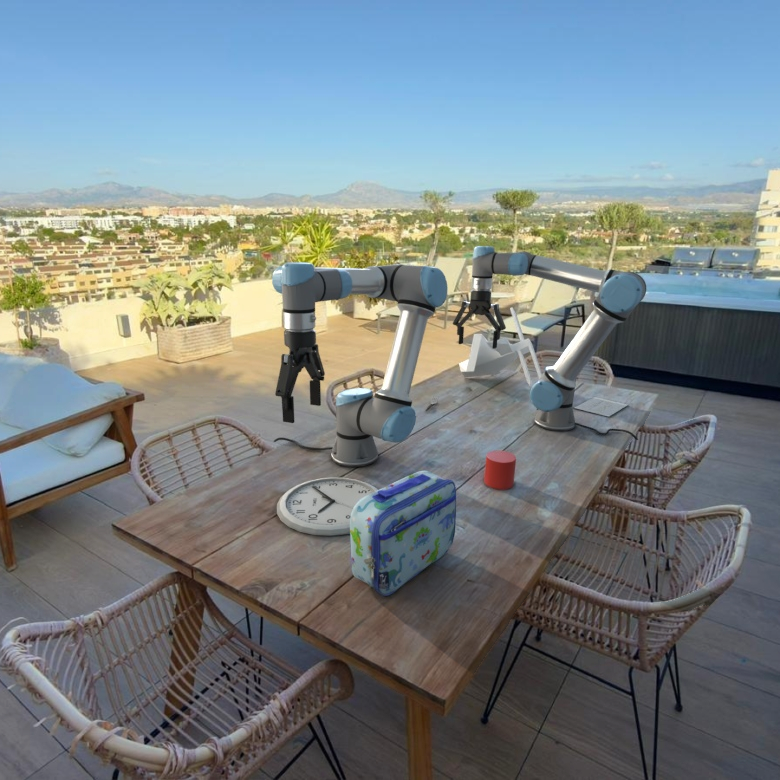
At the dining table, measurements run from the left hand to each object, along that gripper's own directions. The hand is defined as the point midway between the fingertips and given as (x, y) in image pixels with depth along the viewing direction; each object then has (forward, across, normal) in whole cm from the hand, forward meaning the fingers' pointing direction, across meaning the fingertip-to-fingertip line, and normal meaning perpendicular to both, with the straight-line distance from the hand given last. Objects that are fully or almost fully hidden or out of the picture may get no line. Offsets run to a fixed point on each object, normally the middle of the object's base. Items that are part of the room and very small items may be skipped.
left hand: (302, 413), depth 131 cm
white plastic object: (+28, +141, -29) cm, 146 cm away
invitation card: (+28, +124, -76) cm, 148 cm away
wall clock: (+28, +6, -5) cm, 29 cm away
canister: (+28, +36, -45) cm, 65 cm away
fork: (+28, +96, -7) cm, 100 cm away
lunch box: (+28, -14, -32) cm, 45 cm away
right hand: (-2, +87, -27) cm, 91 cm away
